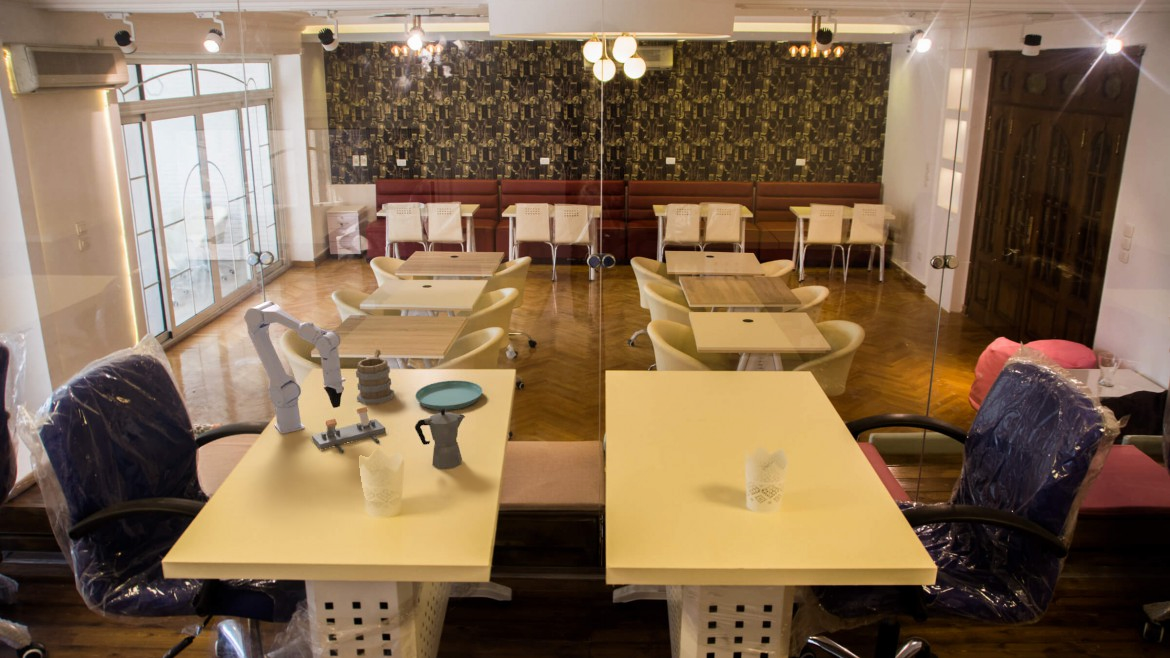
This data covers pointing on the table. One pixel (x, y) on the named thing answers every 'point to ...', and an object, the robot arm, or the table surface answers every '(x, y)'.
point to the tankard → (374, 380)
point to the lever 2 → (363, 417)
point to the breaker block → (349, 435)
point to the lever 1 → (331, 427)
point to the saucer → (449, 395)
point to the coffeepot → (443, 438)
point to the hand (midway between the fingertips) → (336, 406)
